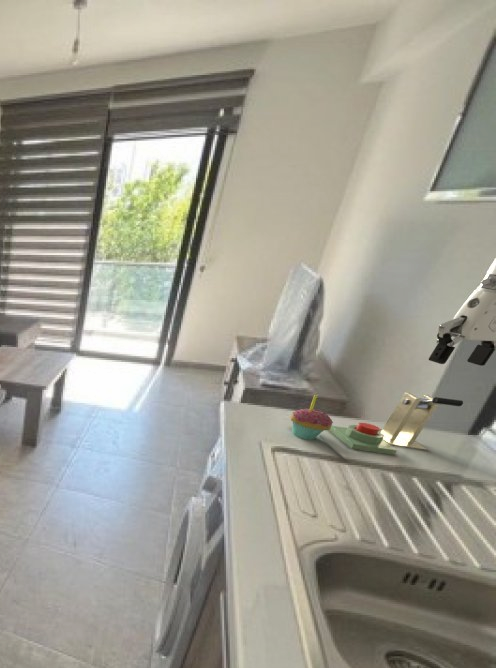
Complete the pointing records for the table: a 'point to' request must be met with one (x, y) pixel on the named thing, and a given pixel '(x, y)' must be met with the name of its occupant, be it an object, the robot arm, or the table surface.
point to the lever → (438, 402)
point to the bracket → (407, 422)
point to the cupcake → (310, 422)
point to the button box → (362, 440)
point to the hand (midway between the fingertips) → (455, 362)
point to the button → (367, 428)
